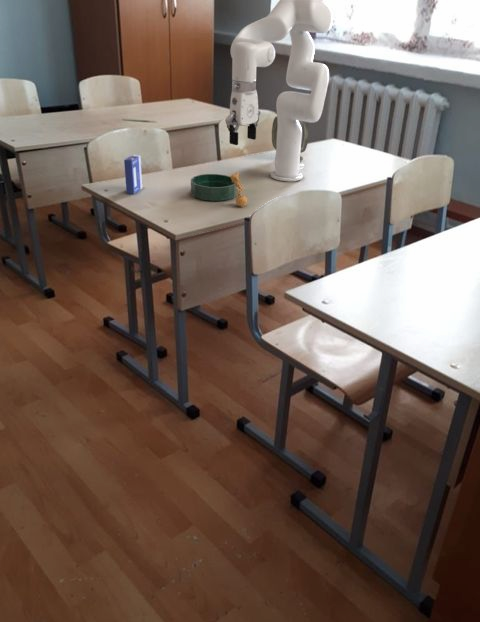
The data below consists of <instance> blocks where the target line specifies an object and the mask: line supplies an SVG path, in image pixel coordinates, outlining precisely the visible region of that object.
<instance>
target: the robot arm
mask: <svg viewBox="0 0 480 622" xmlns="http://www.w3.org/2000/svg"><path fill="white" fill-rule="evenodd" d="M333 21H334V14H333V11H332V8H331V7H330V6H329V5H328V4H326V3H325V1H323V0H279V1H278V2H277V3H276V4H275V6H274V7H273V8H272V9H271V11H270V12H269V13H268V15H267V16H265V17H262V18H260V19H257V20H256V21H254V22H251V23H250V24H248V25H246V26H244V27H243V28H242V29H240V31H239V32H238V33H237V35H236V36H235V37H234V39H233V40H232V43H231V46H230V57H231V59H232V60H231V61H232V62H231V63H232V64H231V65H232V66H231V67H232V68H231V82H232V83H231V87H232V88H231V94H230V102H229V114H228V116H227V117H226V118H225V119H224V121H225V124H226V128H227V131H228V132H229V137H228V138H229V139H228V141H229V145H234V146H239V132H238V130H239V129H240V127H246V126H247V130H246V131H247V135H246V138H247V139H249V140H254V141H255V140H256V139H257V127H258V123H259V121H260V115H261V110H259V96H258V91H257V68H267V67H269V66H270V65H272V63H274V61H275V58H276V49H275V47H274V45H273V44H272V43H275V42H276V43H277V42H279V41H282V40H284V39H285V38H286V37H287V36H288V34H289V36H290V41H291V46H290V47H291V48H290V53H289V59H288V63H287V68H286V75H285V80H286V81H285V83H286V84H287V85H288V87H291V88H293V89H296V90H297V89H298V90H304V91H310V93H304V92H299V91H293V90H291V91H290V90H287V91H283V92H281V93H279V94H278V96H277V98H276V103H275V104H276V105H275V106H276V107H275V108H276V116H277V120H278V128H277V145H276V149H275V158H276V159H275V163H274V170H273V171H271V172H270V177H271V178H272V179H273V180H277V181H280V182H299V181H301V180H302V179H303V174H302V173H301V172H300V171H301V170H303V169H304V168H305V164H304V163H300V162H301V160H300V155H301V153H300V151H301V139H302V129H301V126H300V124H299V122H298V120H299V121H305V122H308V123H317V122H318V121H319V120H320V119H321V116H322V114H323V110H324V106H325V100H326V96H327V92H328V87H329V81H330V71H329V67H328V66H327V65H326V64H324V63H322V62H315V61H314V55H315V51H316V50H315V49H316V48H315V43H314V40H313V38H312V36H311V34H310V33H315V34H326V33H328V32H329V31H330V30H331V28H332V25H333Z"/></svg>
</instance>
